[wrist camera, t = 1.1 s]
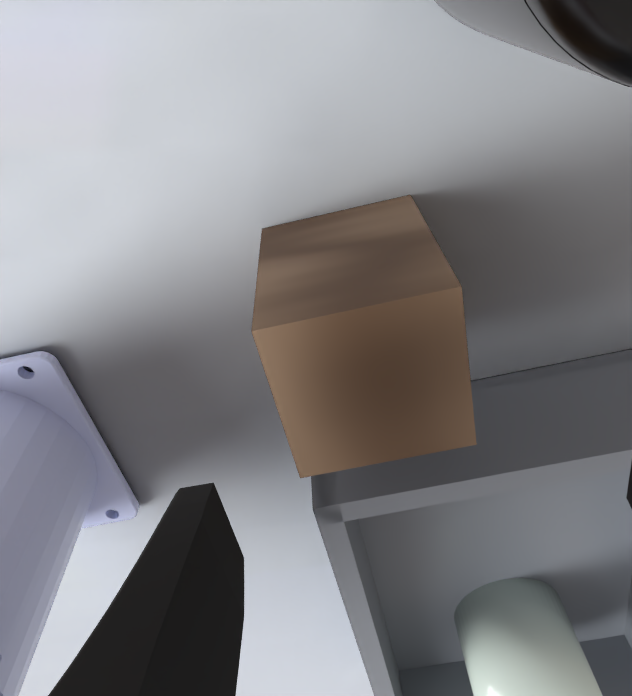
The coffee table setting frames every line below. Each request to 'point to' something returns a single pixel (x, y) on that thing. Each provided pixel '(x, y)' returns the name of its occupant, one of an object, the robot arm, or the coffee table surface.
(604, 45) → the supplement bottle
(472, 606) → the pale green cylinder
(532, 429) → the tote
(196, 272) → the coffee table surface
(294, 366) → the walnut block
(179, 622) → the robot arm
